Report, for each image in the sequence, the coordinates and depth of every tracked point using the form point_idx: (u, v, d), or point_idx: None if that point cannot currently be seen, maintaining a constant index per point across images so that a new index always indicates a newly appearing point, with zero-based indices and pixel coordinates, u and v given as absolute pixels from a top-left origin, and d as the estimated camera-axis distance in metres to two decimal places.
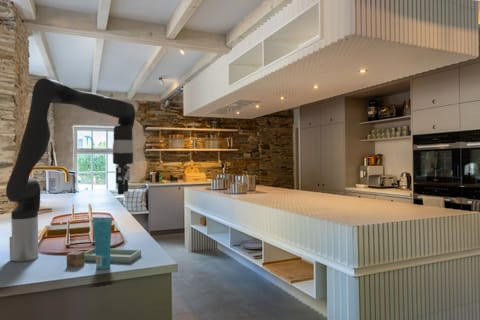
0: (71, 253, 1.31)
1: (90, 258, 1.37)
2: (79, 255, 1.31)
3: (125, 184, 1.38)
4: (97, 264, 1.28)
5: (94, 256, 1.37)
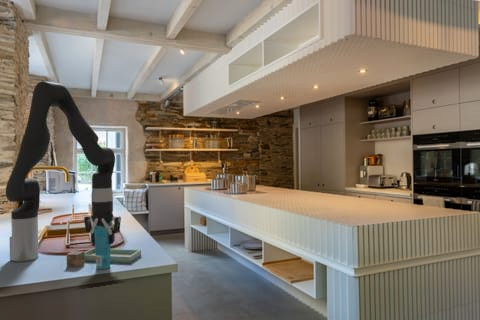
0: (71, 253, 1.31)
1: (90, 258, 1.37)
2: (79, 255, 1.31)
3: None
4: (97, 264, 1.28)
5: (94, 256, 1.37)
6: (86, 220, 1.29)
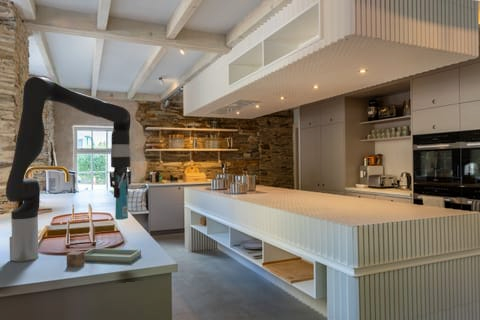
0: (71, 253, 1.31)
1: (90, 258, 1.37)
2: (79, 255, 1.31)
3: None
4: (125, 214, 1.39)
5: (94, 256, 1.37)
6: (116, 175, 1.34)
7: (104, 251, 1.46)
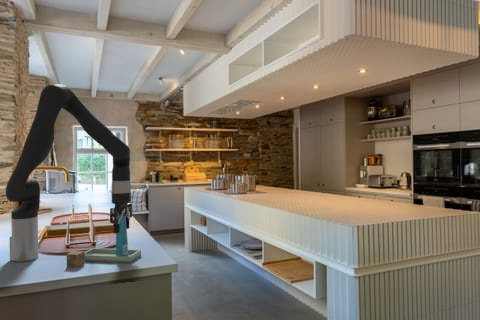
0: (71, 253, 1.31)
1: (90, 258, 1.37)
2: (79, 255, 1.31)
3: None
4: (125, 253, 1.39)
5: (94, 256, 1.37)
6: (116, 211, 1.34)
7: (104, 251, 1.46)
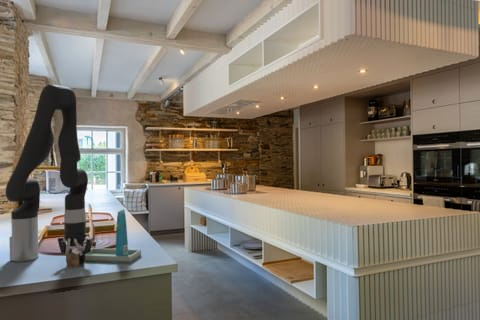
0: (71, 253, 1.31)
1: (90, 258, 1.37)
2: (79, 255, 1.31)
3: None
4: (125, 253, 1.39)
5: (94, 256, 1.37)
6: (60, 241, 1.32)
7: (104, 251, 1.46)
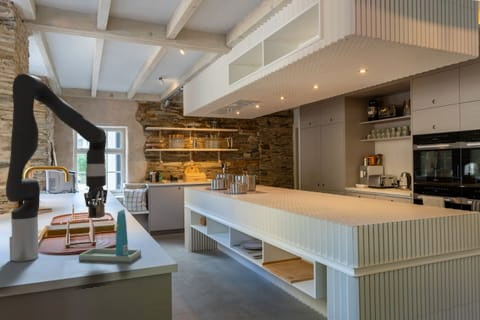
0: (97, 205, 1.40)
1: (90, 258, 1.37)
2: None
3: None
4: (125, 253, 1.39)
5: (94, 256, 1.37)
6: (91, 196, 1.35)
7: (104, 251, 1.46)
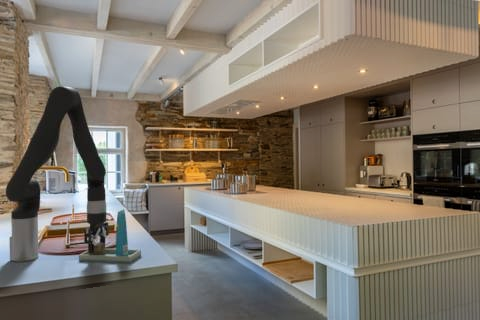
0: (98, 244, 1.40)
1: (90, 258, 1.37)
2: None
3: None
4: (125, 253, 1.39)
5: (94, 256, 1.37)
6: (91, 232, 1.35)
7: None
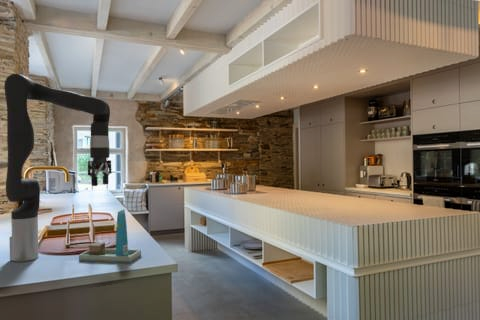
0: (98, 244, 1.40)
1: (90, 258, 1.37)
2: None
3: None
4: (125, 253, 1.39)
5: (94, 256, 1.37)
6: (94, 164, 1.38)
7: None
